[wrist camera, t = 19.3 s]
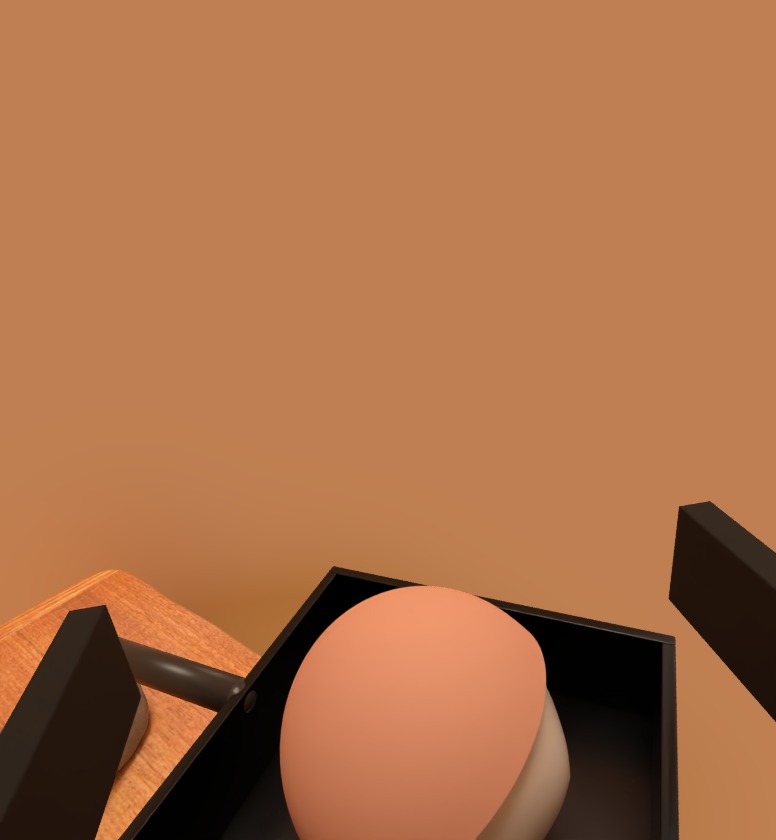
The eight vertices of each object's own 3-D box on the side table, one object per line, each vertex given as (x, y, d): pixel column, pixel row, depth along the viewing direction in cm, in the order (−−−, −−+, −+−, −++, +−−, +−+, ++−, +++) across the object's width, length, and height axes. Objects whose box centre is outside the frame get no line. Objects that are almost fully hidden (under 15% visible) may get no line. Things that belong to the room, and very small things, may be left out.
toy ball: (549, 1069, 12) (549, 847, 9) (253, 927, 15) (177, 723, 12) (579, 742, 19) (586, 550, 16) (370, 688, 22) (341, 517, 19)
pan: (664, 722, 20) (675, 633, 18) (663, 1376, 9) (689, 1307, 8) (196, 598, 29) (176, 531, 27) (-74, 861, 18) (-134, 778, 17)
